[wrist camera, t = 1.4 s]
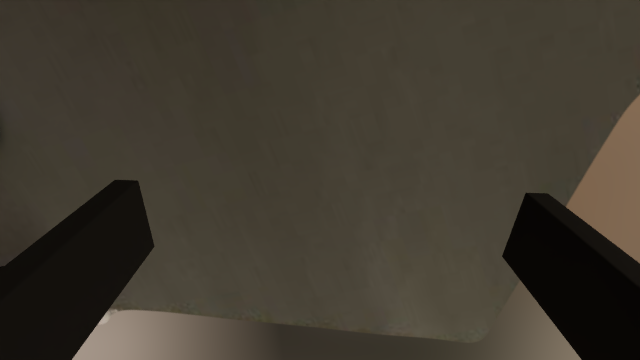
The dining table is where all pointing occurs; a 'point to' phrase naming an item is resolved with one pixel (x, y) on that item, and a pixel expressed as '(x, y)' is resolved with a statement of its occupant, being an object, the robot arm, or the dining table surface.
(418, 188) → the dining table surface
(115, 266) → the robot arm
